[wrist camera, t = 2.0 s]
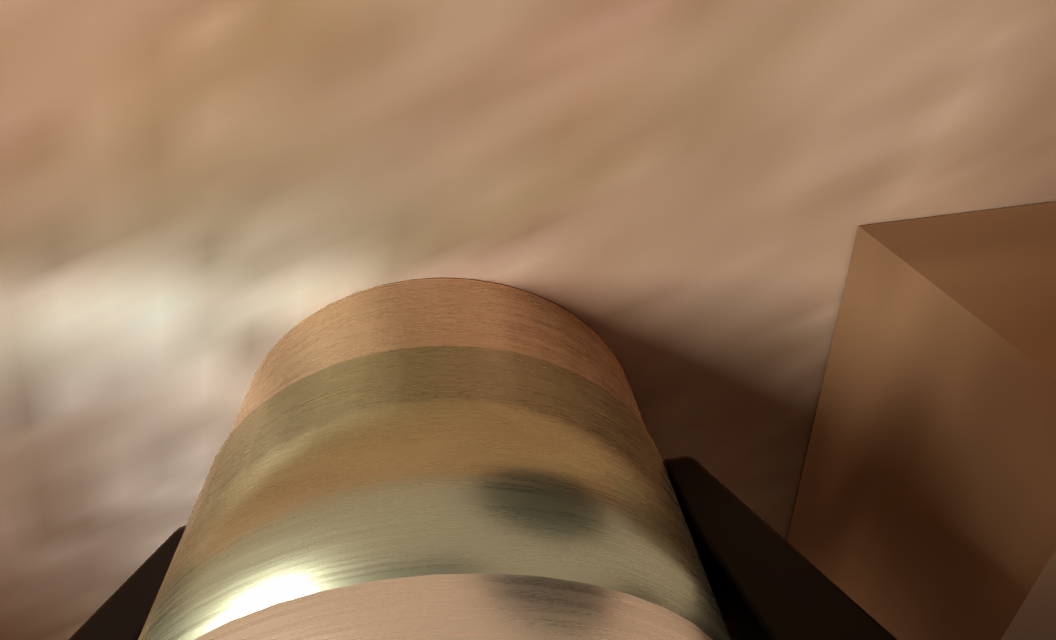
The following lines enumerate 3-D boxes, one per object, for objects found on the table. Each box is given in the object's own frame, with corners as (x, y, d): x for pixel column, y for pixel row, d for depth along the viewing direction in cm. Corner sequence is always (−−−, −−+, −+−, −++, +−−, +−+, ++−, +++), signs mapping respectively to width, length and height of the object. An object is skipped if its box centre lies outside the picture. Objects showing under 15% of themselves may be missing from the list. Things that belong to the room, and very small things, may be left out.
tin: (635, 542, 12) (774, 1015, 7) (304, 589, 11) (190, 1120, 6) (641, 248, 8) (932, 762, 3) (171, 305, 8) (-284, 956, 3)
